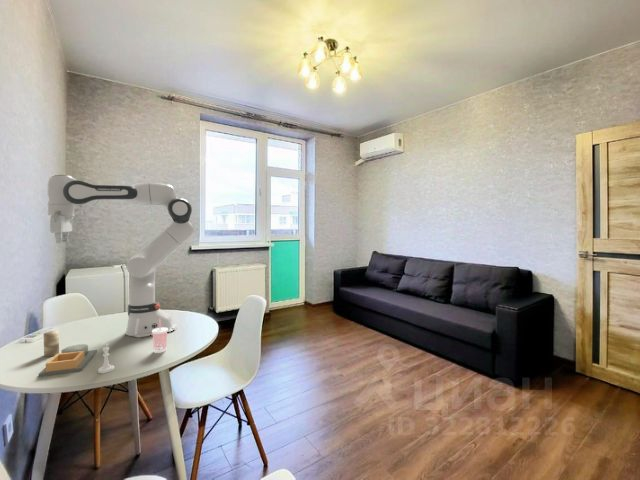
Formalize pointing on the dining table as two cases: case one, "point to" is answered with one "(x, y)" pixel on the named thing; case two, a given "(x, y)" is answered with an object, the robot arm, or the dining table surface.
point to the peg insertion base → (69, 360)
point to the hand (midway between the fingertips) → (62, 242)
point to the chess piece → (106, 361)
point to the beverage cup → (160, 338)
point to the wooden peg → (51, 343)
